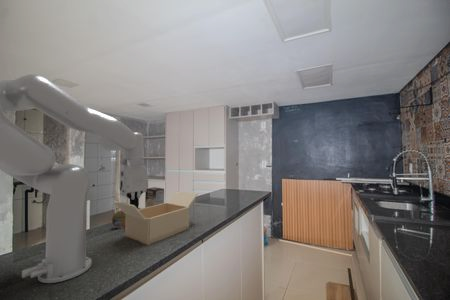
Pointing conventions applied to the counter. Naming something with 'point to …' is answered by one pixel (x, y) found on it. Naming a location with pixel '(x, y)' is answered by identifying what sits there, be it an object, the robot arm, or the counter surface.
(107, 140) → the robot arm
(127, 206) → the near flap
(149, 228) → the carton
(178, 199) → the far flap
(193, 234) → the counter surface
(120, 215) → the tin
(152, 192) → the coffee box
